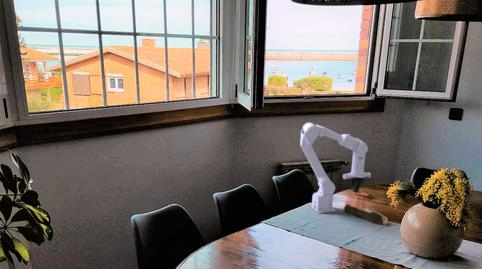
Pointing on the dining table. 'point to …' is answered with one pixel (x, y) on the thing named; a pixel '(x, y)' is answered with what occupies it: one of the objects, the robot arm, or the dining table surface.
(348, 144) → the robot arm
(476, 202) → the dining table surface
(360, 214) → the hand tool
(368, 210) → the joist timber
